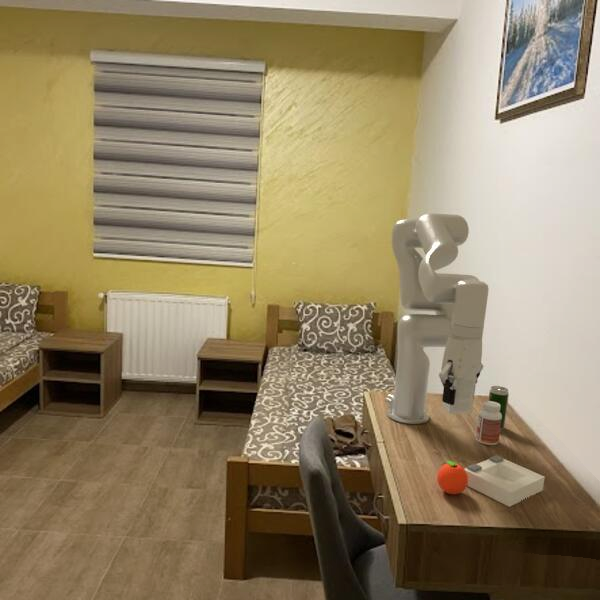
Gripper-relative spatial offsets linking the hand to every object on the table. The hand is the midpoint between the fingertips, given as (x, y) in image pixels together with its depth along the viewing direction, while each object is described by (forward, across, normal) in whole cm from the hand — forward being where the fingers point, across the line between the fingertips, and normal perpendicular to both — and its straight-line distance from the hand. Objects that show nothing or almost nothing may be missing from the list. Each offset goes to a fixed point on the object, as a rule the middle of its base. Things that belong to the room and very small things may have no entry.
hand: (458, 400), depth 156 cm
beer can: (+18, -33, -9) cm, 38 cm away
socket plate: (+17, -2, +14) cm, 22 cm away
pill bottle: (+18, -22, -4) cm, 28 cm away
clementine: (+18, +11, +9) cm, 23 cm away
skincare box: (+3, 0, 0) cm, 3 cm away
